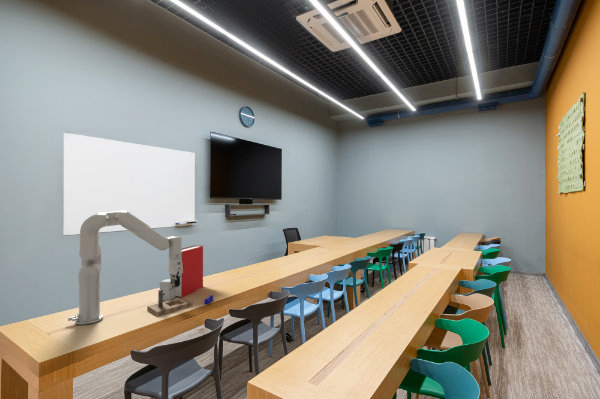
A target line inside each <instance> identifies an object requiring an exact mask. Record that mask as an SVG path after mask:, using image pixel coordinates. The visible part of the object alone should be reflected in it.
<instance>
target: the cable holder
mask: <svg viewBox="0 0 600 399" xmlns="http://www.w3.org/2000/svg"><path fill="white" fill-rule="evenodd" d="M213 301H214V294H210V295H209V297H205V298H204V305H209V304H211V303H212V302H213Z"/></svg>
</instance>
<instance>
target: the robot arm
mask: <svg viewBox="0 0 600 399" xmlns="http://www.w3.org/2000/svg"><path fill="white" fill-rule="evenodd" d="M113 226H121V227H122V228H124V229H125V230H127V231H129V232H130V233H132V234H133V235H135V236H136V237H138V238H139V239H141V240H143V241H144V242H146V243H148V244H149V245H150V246H152V247H153V248H155V249H156V250H159V251H167V249H168V260H169V261H168V272H169V275H170V276H169V279H171V277H172V274H173V275H175V286H179V285H180V277H181V276H182V273H183V266H182V259H181V258H182V247H183V246H182V245H183V244H182V237H181V236H178V235H176V236H175V235H174V236H162V235H161V234H159V233H158V232H156V231H155V229H152V228H151V226H150V225H148V224H147V223H145V222H144V221H143V220H141V219H139V217H136V216H135V215H133V214H132V213H131V212H129V211H128V210H117V211H105V212H98V213H95V214H93V215H91V216H89V217H88V218H86V219H85V220H84V221H83V223H82V224H81V225H80V231H79V253H78V254H79V257H80V259H81V267H80V268H79V270H78V313H76V315H75V316H69V317H67V322H75V324H76V325H90V324H94V323H97V322H100V321H101V320H103V318H104V315H103V314H101V298H100V297H101V290H100V288H101V271H102V249H101V246H100V244H99V232H100V229H102V228H105V227H113ZM177 273H178V274H177ZM177 275H178V276H177ZM171 283H172V279H171Z"/></svg>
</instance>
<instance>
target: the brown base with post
mask: <svg viewBox="0 0 600 399" xmlns="http://www.w3.org/2000/svg"><path fill="white" fill-rule="evenodd" d="M157 292H158V293H157V295H158V297H157V298H158V302H157V303H154V304H151V305H147V306H146V308H147V311H148V312H149V313H151V314H152V315H154V316H156V317H159V316H163V315H166V314H170V313H174V312H176V311H179V310H182V309H186V308H190V307H193V302H192V301H191V300H188V299H187V298H184V297H179V298H178V297H177V298H173V299H171V300H169V301H164V300H163V295H165V293H163V290H160V289H158V291H157Z"/></svg>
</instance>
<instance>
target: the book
mask: <svg viewBox="0 0 600 399" xmlns="http://www.w3.org/2000/svg"><path fill="white" fill-rule="evenodd" d="M181 259H182V266H183V273H182V276H181V277H180V285H179V287H177V288H175V297H180V298H184V297H186V296H188V295H190V294H192V293H195V292H196V291H198V290H200V289H202V288H204V245H199V244H198V245H197V244H195V245H191V246H190V245H189V246H187V247H183V248H182V258H181Z"/></svg>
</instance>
